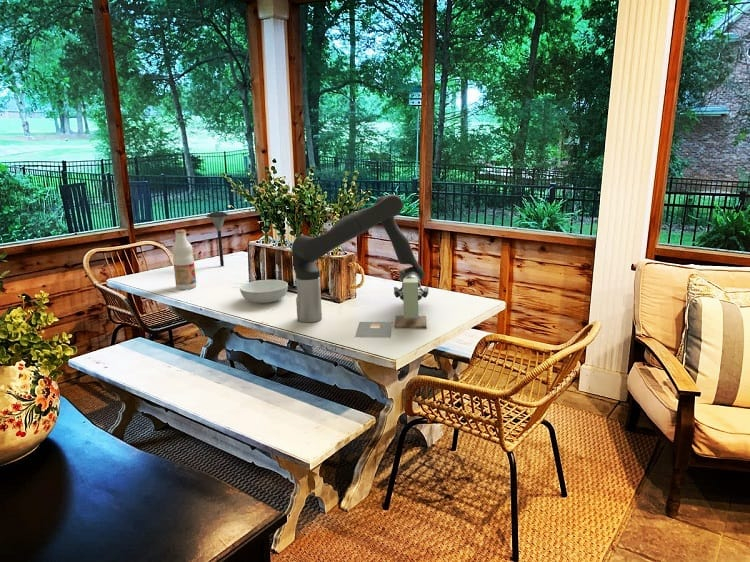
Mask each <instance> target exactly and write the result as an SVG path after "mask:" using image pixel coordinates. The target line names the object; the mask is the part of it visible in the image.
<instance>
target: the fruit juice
mask: <svg viewBox="0 0 750 562" xmlns="http://www.w3.org/2000/svg"><path fill="white" fill-rule="evenodd" d="M174 233H175V234H174V235H175V241H174V243H173V244H172V247H171V249H172V250H171V251H172V254H173V259H172V260H173V261H172V263H173V272H174V279H175V286H176V287H175V288H176V289H177V290H180V289H187V290H191V288H192V289H194V288H196V287H197V278H196V268H195V267H196V266H195V259H194V256H193V246H192V244H191V242H189V240H188V238H187V235H186V234H187V230H186V229H175V230H174Z"/></svg>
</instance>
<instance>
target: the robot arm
mask: <svg viewBox="0 0 750 562" xmlns="http://www.w3.org/2000/svg"><path fill="white" fill-rule="evenodd" d="M403 205H404V202H403V200H402V198H401V197H400V196H398V195H396V194H387V195H382V196H380V197H378V198H376V200H375V201H374V205H372V206H369V207H366V208H363V209H359V210H357V211H353V212H351V213H349V214H347V215H345V216H343V217H341V218H340V219H338V220H337V221H336V222H335V223H333V225H332V227H331V228H330V229H329V230H328V231H326V232H323V233H322V234H320V235H318V236H315V237H314V236H313V237H312V236H307V235H299V236H297V237H296V238H295V239H294V240H293V242H292V247H291V252H292V256H293V266H294V270H295V273H296V280H297V287H296V294H297V296H296V298H295V300H296V303H295V304H296V319H297V322H301V323H302V322H303V323H316V322H319V321H321V320H322V318H323V315H322V314H323V313H322V311H323V310H322V292H321V272H320V269H319V268H318V266H317V265H316V261H317V260H320V258H321V259H322V257H323V256H325V255H327V254H328V253H329V252H330V251H332V250H334V249H336V248H337V247H339V246H341V245H343V244H345V243H346V242H349V241H350V240H352V239H354V238H356V237H359V236H360V235H362V234H363V233H365V232H367V231H369V230H370V229H371V228H374V227H375V226H376V225H378V224H380V223H381V224H382V226H383V229H384V231H385V232H386V234H387V235H388V239H389V241H390V242H391V245H392V247H393V251H394V253H395V255H396V258H397V261H398V263H399V265H400V264H401V265H407V264H409V265H411V266H409V267H406V268H403V269H401V270H400V271H399V279H400V281H401V282H402V284H401V287H400V288H399V287H397V286H395V287H394V286H393V295H394V296H395V298H397V299H398V298H399V299H400V300H401V301H403V281H404V279H418V301H420V300H422V298H424V299H425V298H427V296H428V295H429V287H428V286H425V287H423V288H422V284H421V281H423V280H424V278H425V271H424V269H423V267H422V266H421V265H420V263H419V262H418V261H417V259H416V257H415V256H414V252H413V250H412V247H411V244H410V241H409V240H408V238H407V237H406V235H405V234H404V233H403V232H402V230H401V229H400V228H399V226H398V224H397V222H396V219H395V217H396V216H398V215H399V214H400V213H401V212H402V210H403V208H404V207H403Z"/></svg>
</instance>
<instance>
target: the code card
mask: <svg viewBox="0 0 750 562" xmlns="http://www.w3.org/2000/svg"><path fill="white" fill-rule="evenodd" d="M392 331H393V321H359V322H358V326H357V329H356V333H355V336H354V338H369V339H370V338H373V339H377V338H378V339H379V338H380V339H382V338H384V339H391V338H392Z"/></svg>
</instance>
